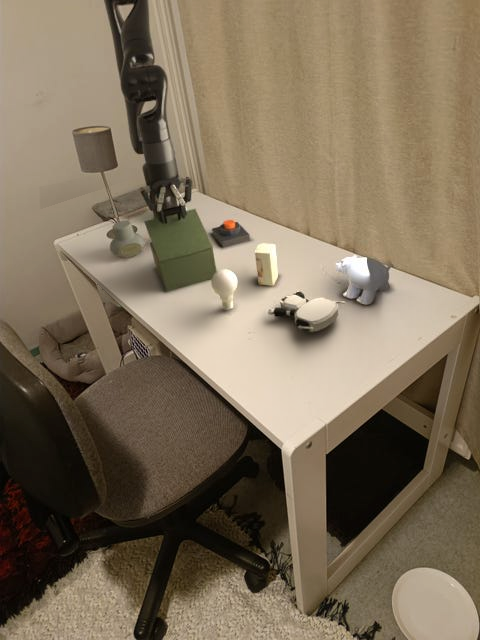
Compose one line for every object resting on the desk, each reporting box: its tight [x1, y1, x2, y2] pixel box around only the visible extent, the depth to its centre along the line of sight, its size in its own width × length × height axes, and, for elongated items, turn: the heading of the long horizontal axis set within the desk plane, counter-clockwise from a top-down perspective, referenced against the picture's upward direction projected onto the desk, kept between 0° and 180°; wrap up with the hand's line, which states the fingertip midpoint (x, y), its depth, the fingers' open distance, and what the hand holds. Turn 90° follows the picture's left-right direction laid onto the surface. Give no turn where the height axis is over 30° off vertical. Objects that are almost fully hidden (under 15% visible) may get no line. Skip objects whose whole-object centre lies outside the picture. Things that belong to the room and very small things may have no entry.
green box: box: [149, 241, 218, 292], centre depth 125 cm, size 14×15×9 cm
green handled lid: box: [143, 205, 214, 263], centre depth 118 cm, size 15×15×5 cm
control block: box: [211, 221, 251, 249], centre depth 141 cm, size 11×9×4 cm
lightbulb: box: [210, 268, 238, 311], centre depth 108 cm, size 6×6×11 cm
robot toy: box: [267, 290, 346, 333], centre depth 103 cm, size 12×4×15 cm
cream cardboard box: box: [254, 242, 279, 287], centre depth 116 cm, size 5×4×10 cm
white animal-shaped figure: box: [334, 254, 394, 306], centre depth 108 cm, size 11×15×10 cm
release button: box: [222, 219, 236, 229], centre depth 140 cm, size 4×4×2 cm
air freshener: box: [109, 220, 146, 258], centre depth 139 cm, size 11×8×10 cm
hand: (173, 219), depth 120 cm, fingers closed on green handled lid, 5 cm apart
